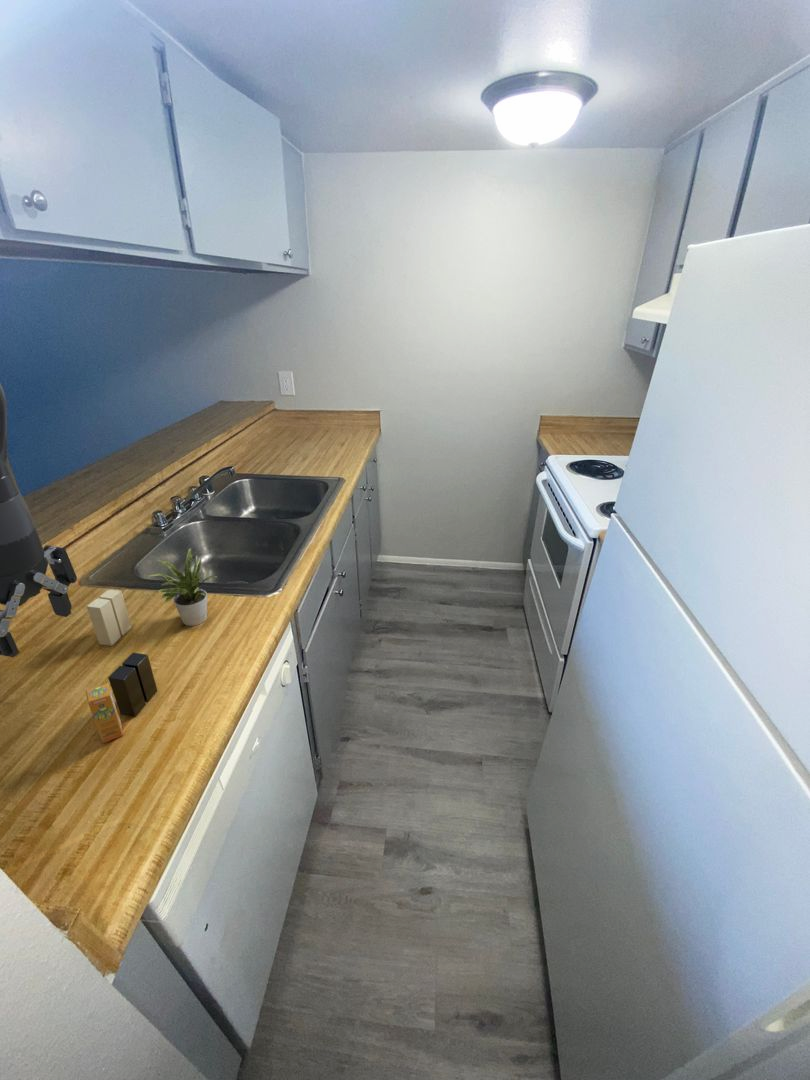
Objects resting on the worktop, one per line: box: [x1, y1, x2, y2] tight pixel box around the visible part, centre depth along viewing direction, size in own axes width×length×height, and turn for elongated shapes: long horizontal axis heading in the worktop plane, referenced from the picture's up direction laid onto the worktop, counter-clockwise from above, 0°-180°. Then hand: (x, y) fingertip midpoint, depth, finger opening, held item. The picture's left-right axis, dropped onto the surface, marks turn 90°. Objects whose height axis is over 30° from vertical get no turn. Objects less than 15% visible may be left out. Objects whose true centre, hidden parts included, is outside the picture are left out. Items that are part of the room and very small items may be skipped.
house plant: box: [145, 547, 216, 627], centre depth 107 cm, size 14×14×16 cm
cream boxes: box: [86, 588, 132, 647], centre depth 102 cm, size 6×3×10 cm, turn 171°
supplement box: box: [85, 682, 124, 744], centre depth 79 cm, size 3×3×10 cm
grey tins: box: [107, 652, 158, 718], centre depth 86 cm, size 6×3×9 cm, turn 171°
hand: (38, 633), depth 65 cm, fingers open, 8 cm apart
